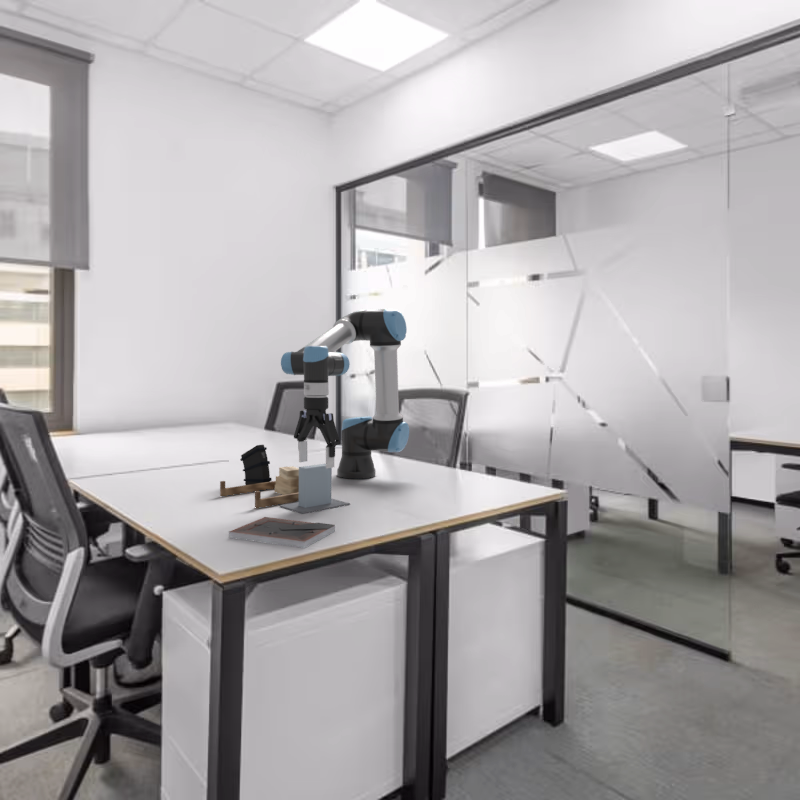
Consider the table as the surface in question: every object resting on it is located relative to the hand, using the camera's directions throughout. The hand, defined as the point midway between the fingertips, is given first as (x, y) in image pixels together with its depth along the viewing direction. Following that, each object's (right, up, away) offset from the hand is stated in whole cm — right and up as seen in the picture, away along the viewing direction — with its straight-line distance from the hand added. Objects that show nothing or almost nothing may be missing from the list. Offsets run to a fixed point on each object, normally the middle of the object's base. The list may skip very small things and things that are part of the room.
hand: (316, 464), depth 192 cm
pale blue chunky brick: (0, -12, 0) cm, 12 cm away
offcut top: (-11, -6, +17) cm, 21 cm away
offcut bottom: (-11, -12, +17) cm, 24 cm away
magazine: (-25, -11, +28) cm, 39 cm away
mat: (0, -13, 0) cm, 13 cm away
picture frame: (-4, -16, -32) cm, 35 cm away
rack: (-16, -12, +12) cm, 23 cm away
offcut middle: (-11, -9, +17) cm, 22 cm away
